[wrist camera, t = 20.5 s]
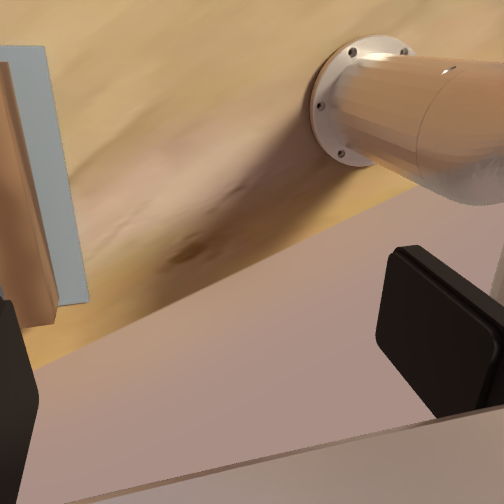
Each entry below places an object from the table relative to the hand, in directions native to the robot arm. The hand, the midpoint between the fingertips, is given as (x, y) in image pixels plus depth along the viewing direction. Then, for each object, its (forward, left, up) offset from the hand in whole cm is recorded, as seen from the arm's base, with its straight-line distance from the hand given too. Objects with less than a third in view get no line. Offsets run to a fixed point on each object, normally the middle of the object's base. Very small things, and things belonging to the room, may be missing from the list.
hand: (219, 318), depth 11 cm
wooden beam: (+12, +7, -32) cm, 35 cm away
